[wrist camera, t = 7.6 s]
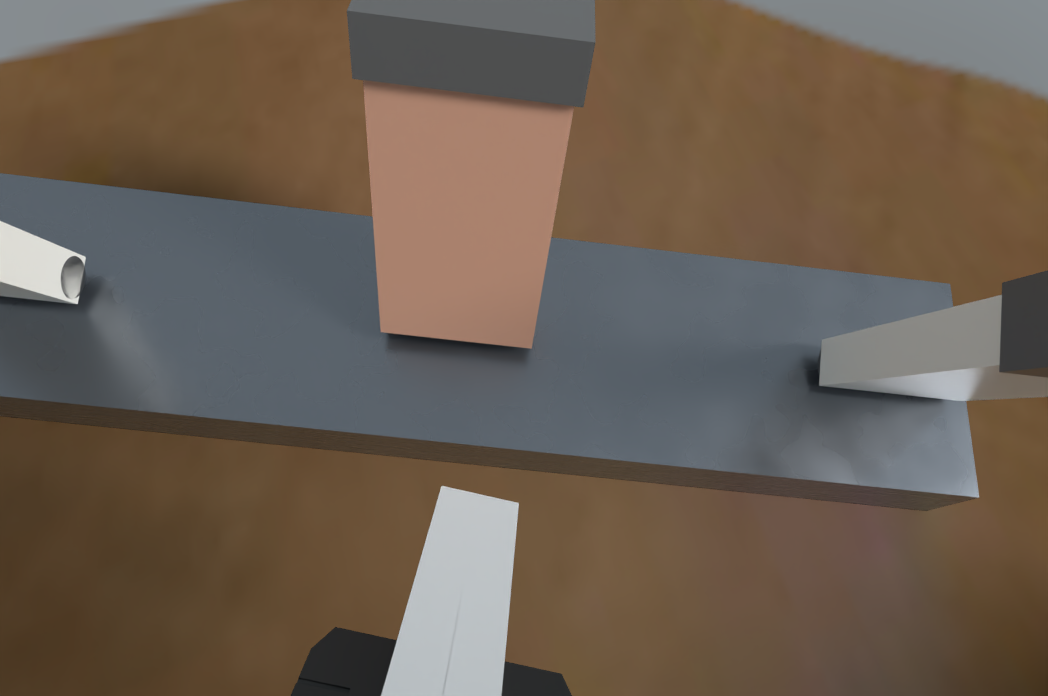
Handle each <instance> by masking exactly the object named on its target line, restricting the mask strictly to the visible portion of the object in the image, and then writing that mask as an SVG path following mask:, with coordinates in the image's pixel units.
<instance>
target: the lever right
mask: <svg viewBox="0 0 1048 696" xmlns="http://www.w3.org/2000/svg"><path fill="white" fill-rule="evenodd" d="M818 373H819V386H827V387H836V388H845V389H854V390H864V391H873V392H882V393H891V394H900V395H909V396H918V397H928V398H937V399H946V400H955V401H971V400H991V399H1012V398H1033V397H1048V271H1044V272H1041V273H1037V274H1033V275H1029V276H1026V277H1022V278H1018V279H1015V280H1011V281H1007V282H1004V283H1002V295H999V296H995V297H991V298H987V299H983V300H979V301H975V302H971V303H967V304H963V305H959V306H955V307H951V308H947V309H943V310H939V311H935V312H931V313H927V314H923V315H919V316H915V317H911V318H907V319H903V320H899V321H895V322H891V323H887V324H883V325H879V326H875V327H871V328H867V329H863V330H859V331H855V332H851V333H847V334H843V335H838V336H834V337H830V338H826V339H822V345H821V350H820V353H819V357H818Z"/></svg>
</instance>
